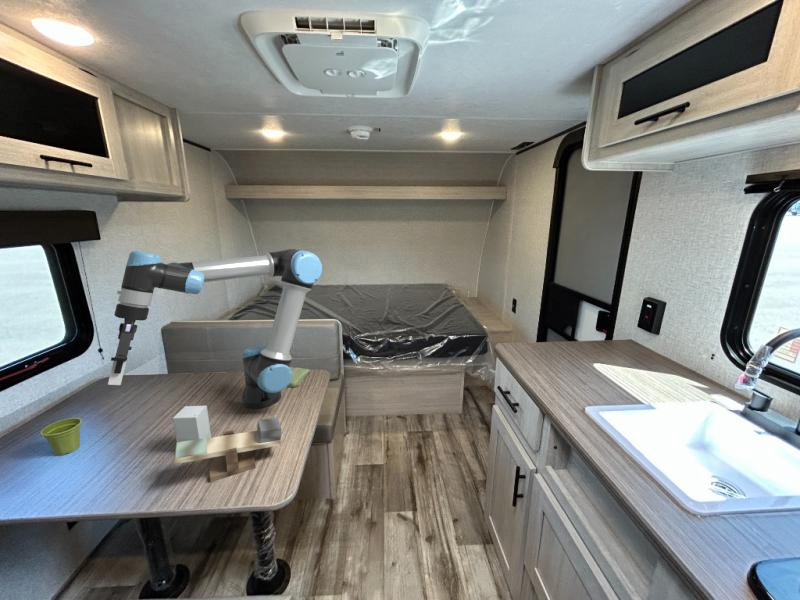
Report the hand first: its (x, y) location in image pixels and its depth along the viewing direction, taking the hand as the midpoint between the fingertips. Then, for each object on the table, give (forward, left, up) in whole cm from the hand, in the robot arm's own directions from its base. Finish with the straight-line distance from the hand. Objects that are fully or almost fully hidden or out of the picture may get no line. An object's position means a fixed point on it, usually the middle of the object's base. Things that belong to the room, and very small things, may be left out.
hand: (116, 377), depth 97 cm
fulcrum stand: (-9, +28, -29) cm, 41 cm away
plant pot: (0, -28, -29) cm, 40 cm away
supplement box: (-13, +10, -29) cm, 34 cm away
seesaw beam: (-9, +28, -23) cm, 37 cm away
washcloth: (-65, +13, -30) cm, 73 cm away
